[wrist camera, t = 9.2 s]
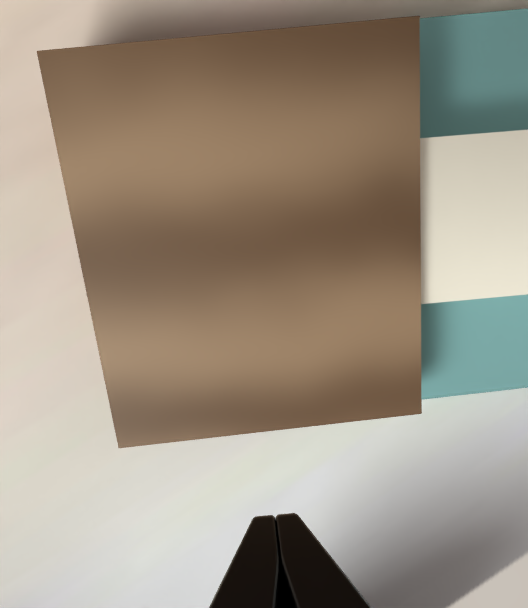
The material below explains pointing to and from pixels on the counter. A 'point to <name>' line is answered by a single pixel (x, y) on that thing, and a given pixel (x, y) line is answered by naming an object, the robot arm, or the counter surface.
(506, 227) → the cream tile
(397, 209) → the walnut deck
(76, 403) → the counter surface
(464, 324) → the teal mat
